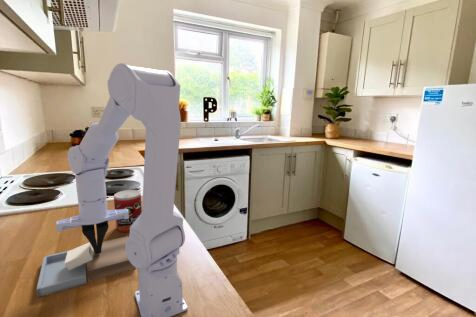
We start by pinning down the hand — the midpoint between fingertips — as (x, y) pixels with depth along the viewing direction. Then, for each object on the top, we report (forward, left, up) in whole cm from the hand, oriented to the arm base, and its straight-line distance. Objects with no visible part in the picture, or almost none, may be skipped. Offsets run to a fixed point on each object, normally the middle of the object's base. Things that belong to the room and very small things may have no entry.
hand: (97, 251), depth 62 cm
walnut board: (0, -3, -3) cm, 4 cm away
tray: (0, +7, -3) cm, 8 cm away
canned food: (+17, -10, -3) cm, 20 cm away
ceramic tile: (0, +3, -1) cm, 4 cm away
